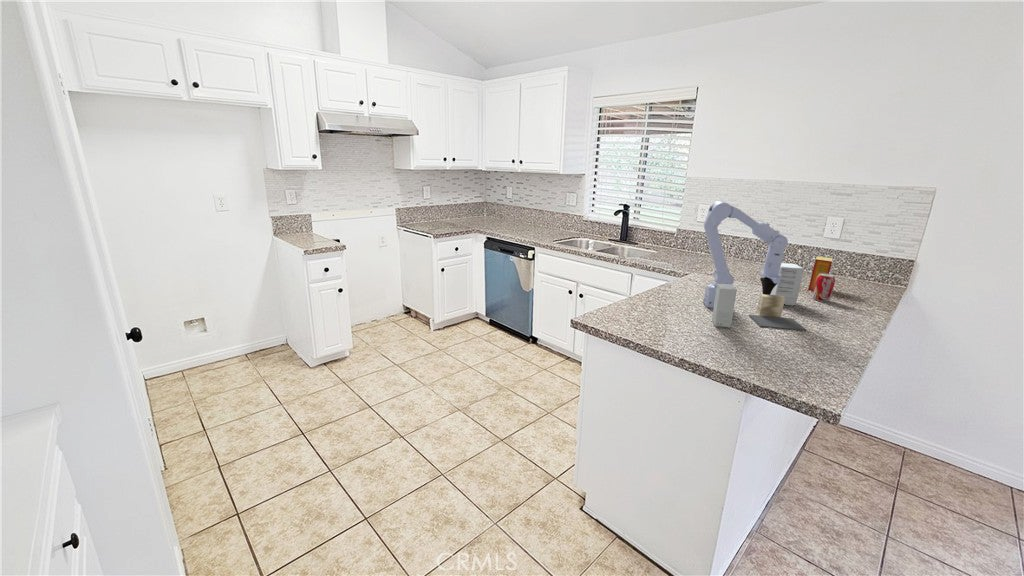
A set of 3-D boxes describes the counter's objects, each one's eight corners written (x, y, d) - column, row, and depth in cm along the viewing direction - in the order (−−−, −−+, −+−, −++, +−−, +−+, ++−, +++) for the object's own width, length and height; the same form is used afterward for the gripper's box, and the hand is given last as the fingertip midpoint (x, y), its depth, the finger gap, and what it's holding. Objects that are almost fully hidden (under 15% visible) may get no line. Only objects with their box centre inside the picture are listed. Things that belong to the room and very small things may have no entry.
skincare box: (730, 328, 160) (738, 290, 155) (713, 326, 161) (720, 288, 157) (727, 320, 167) (734, 284, 163) (710, 318, 169) (717, 282, 165)
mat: (759, 326, 162) (760, 325, 162) (748, 315, 174) (749, 314, 173) (806, 330, 160) (806, 329, 160) (792, 319, 171) (792, 318, 171)
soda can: (813, 301, 195) (819, 275, 192) (809, 296, 202) (815, 272, 198) (831, 303, 193) (838, 277, 189) (827, 299, 199) (833, 273, 196)
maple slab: (759, 316, 173) (763, 296, 171) (756, 313, 176) (760, 294, 174) (780, 318, 172) (785, 298, 170) (777, 315, 175) (782, 295, 172)
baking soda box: (809, 286, 220) (817, 255, 215) (825, 288, 216) (833, 257, 211) (808, 290, 212) (815, 258, 208) (824, 292, 209) (832, 260, 204)
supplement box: (796, 306, 188) (805, 268, 183) (773, 304, 189) (781, 266, 184) (787, 299, 197) (795, 263, 192) (765, 297, 198) (773, 261, 193)
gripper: (791, 268, 167) (783, 301, 171) (776, 260, 180) (769, 291, 184) (771, 267, 168) (764, 300, 172) (758, 259, 181) (751, 289, 185)
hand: (765, 295), depth 178 cm, fingers closed
